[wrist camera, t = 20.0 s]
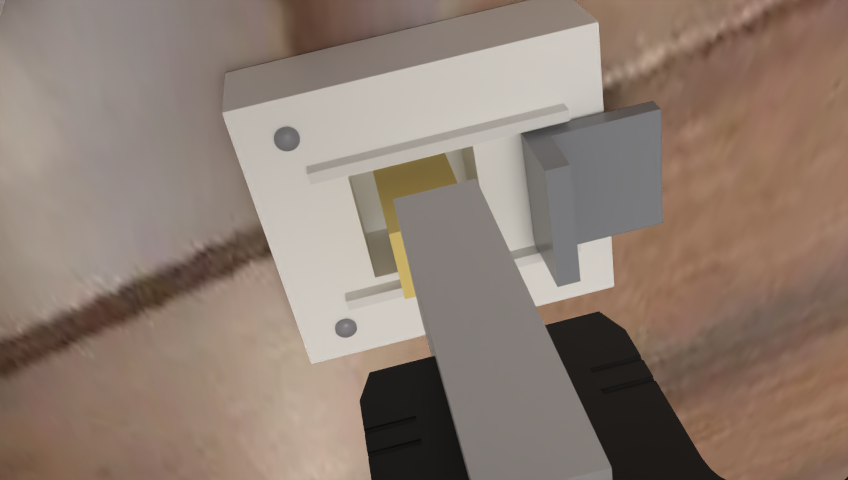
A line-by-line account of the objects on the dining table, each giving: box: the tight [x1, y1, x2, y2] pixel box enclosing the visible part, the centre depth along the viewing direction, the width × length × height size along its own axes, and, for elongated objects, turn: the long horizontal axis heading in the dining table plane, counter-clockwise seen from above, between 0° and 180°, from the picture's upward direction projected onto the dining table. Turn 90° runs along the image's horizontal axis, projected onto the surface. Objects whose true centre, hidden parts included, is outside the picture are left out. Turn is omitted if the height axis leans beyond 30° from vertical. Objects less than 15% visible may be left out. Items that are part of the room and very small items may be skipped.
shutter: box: [521, 101, 663, 287], centre depth 40 cm, size 7×7×4 cm
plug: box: [373, 153, 458, 299], centre depth 43 cm, size 4×4×8 cm
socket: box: [222, 0, 614, 364], centre depth 44 cm, size 16×18×6 cm
